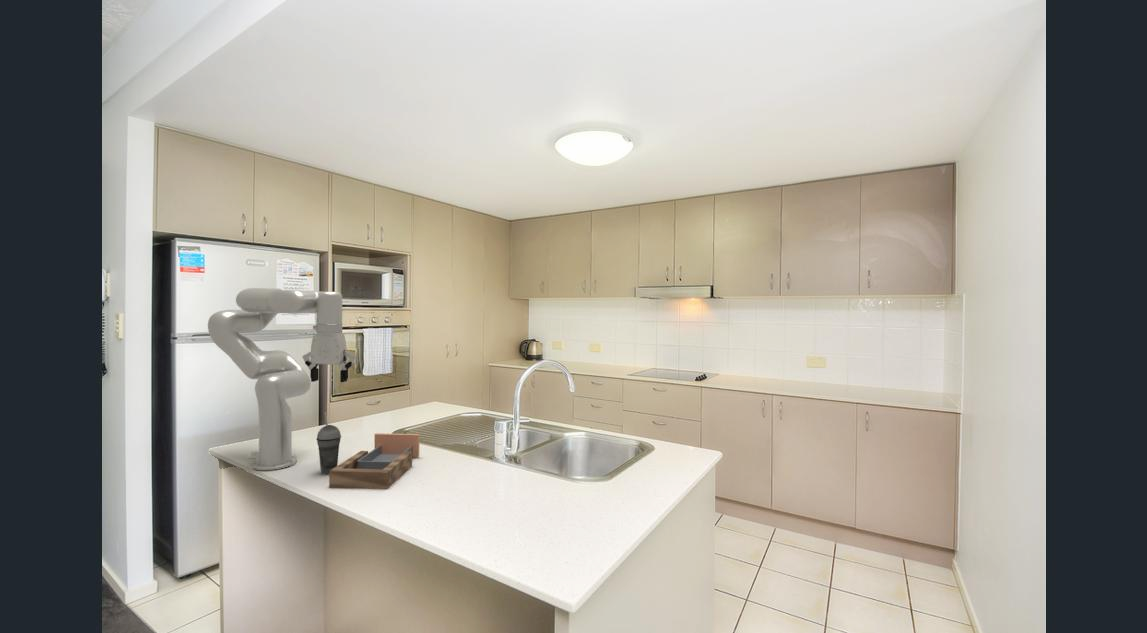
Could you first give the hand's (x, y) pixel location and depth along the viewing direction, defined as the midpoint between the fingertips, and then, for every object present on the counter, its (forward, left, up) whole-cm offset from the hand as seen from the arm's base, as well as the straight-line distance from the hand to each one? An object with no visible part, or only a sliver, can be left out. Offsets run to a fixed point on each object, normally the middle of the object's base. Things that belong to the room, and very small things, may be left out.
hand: (329, 381), depth 155 cm
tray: (+16, +7, -30) cm, 35 cm away
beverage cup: (0, 0, -30) cm, 30 cm away
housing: (+16, -3, -30) cm, 34 cm away
